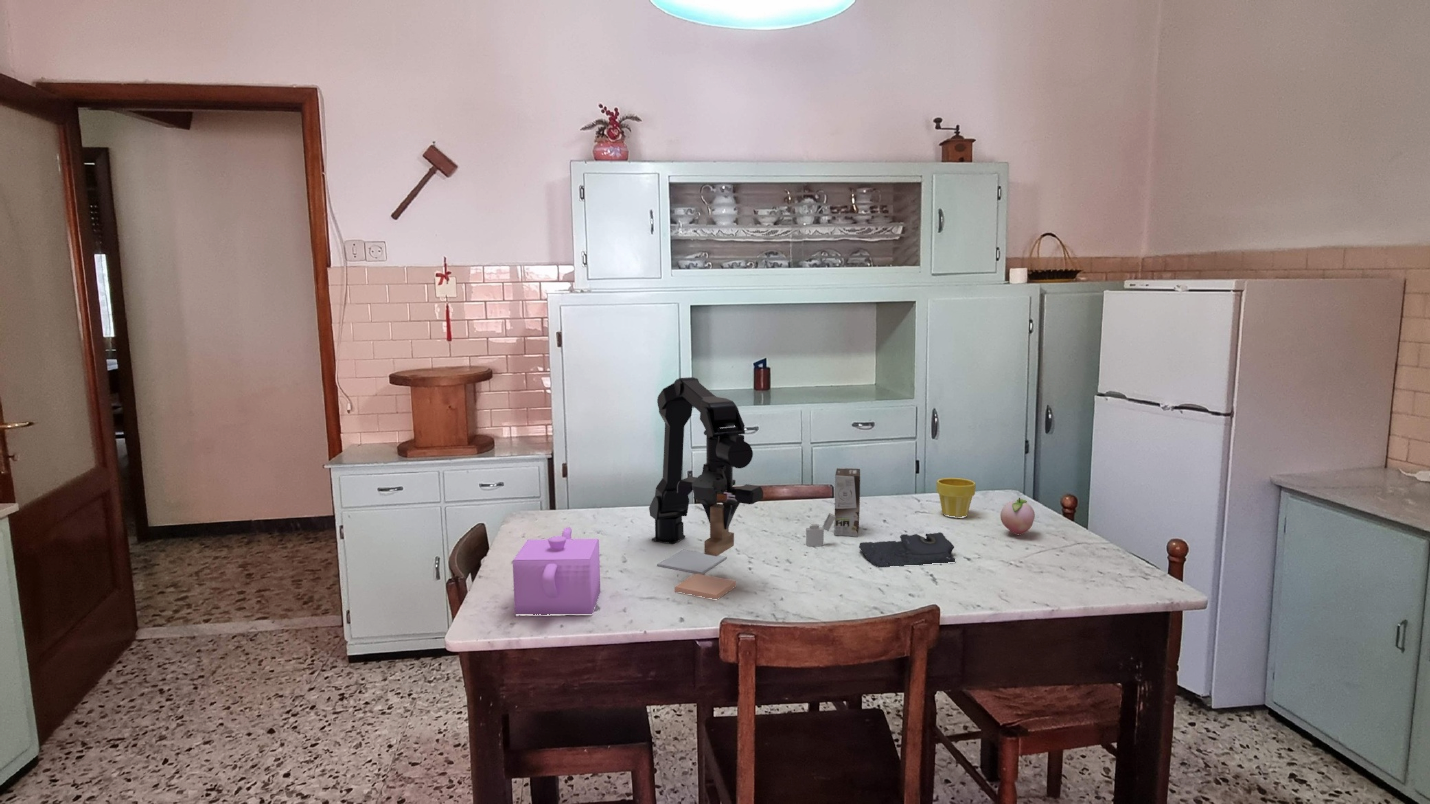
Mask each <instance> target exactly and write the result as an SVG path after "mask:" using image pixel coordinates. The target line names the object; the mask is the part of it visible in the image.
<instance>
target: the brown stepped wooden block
mask: <svg viewBox="0 0 1430 804" xmlns="http://www.w3.org/2000/svg"><path fill="white" fill-rule="evenodd" d="M729 528H730V526H729V527H728V529H724V505H723V504H722V503H717V504H715V505H713V506H711V507H710V523H709V538H707V539H704V541H703V542H704V544H703V547H704V552H703V553H704V554H706V555H712V556H718V555H721V554H723V553H724V552H727V550H729V549H731V548H733V547H734V546H735V532H732V531H731V532H730V531H729Z"/></svg>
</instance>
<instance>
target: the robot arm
mask: <svg viewBox="0 0 1430 804" xmlns="http://www.w3.org/2000/svg"><path fill="white" fill-rule="evenodd" d="M656 402H657V407H658V414H659V415H660V417H661V418H662V420H663V422H664V435H663V436H664V437H663V438H664V439H663V459H662V460H663V462H662V463H663V464H662V465H663V466H662V478H661V480H660V481H659V482H658V484H657V485H656V487H655V492H654V496H653V498H652V500H651V503H650V505H649V507H648V511H649V516H650V518H652V519H654V530H655V531H654V534H655V535H654V537H651V541H652V542H659V543H664V544H670V545H674V544H676V543H678V542H679V541H682V540H683V539H685V538H686V535H684V521H683V517H687V516H688V511H689V505H690V498H689V495H690V494H691V493H693V499H694V500H696V501H698V502H699V503H700V504H701V505H702V507H703V509H704V511H705V514H706V518H707V520H708V522H709V524H710V507H711V506H713V505H715V504H717V501H718V495H720V496H721V495H723V496H726V499H725V500H723V501H722V502H721V504H723V505H724V529H728V527H729V528H730V525H731V523H732V520H733V518H734V515H735V513H736V511H737V509H738V507H739V505H740V504H745V505H753V504H755V503H758V502H759V501H761V500H763V499H764V490H763V488H762V486H761V485H754V484H747V483H746V484H744V485H742V486H739V487H734V486H735V485H736V479H734V477H733V476H734V474H733V470H734V469H733V468H735V469H744V468H747V466H748V465H749V464H750V463H751V462H752V459H753V455H754V452H753V449H752V446H751V445H750V444H749V443H748V442H747V441H745V434H746V430H745V423H744V422H743V419H742V416H741V413H740V411H739V408H738V406H737V405H736V403H735V401H733V400H731V399H728V398H725V397H720V396H716V395H715V394H713V393H712V392H711V391H710V390H709V389H707V388H706V387H705V386H704V385H703V384H701V382H700V381H699V379H698V378H696V377H693V376H691V377H690V376H689V377H679V378H677V379H675V381H674V382H672V384H669V385H668V386H666V387H664V388H662V390H661V392H660V393H659V394H658V396H657V401H656ZM693 407H694V408H695V409H696V410H697V411H698V412H699V420H700V422H701V424H702V425H703V427H704V429H705V430H704V431H703V435H704V436H706V443H705V444H706V453H705V454H706V463H704V464H703V467H702V471H701V474H700V475H698V476H697V477H695V476H691V475H690V476H688V477H685V478H683V464H684V463H683V462H684V461H683V459H684V440H685V426H686V424H687V423H688V421H689V420H690V418H691V417H692V415H693V414H692V413H693Z"/></svg>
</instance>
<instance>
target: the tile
mask: <svg viewBox="0 0 1430 804" xmlns="http://www.w3.org/2000/svg"><path fill="white" fill-rule="evenodd" d="M735 586H736V587H737V580H733V579H728V578H721V577H717V576H713V575H706V574H697V573H693V575H690V576H689V577H688V578H686V579H685V580H683V581H681V582H680V583H679V584H677V585H675V586H674V593H676V592H682V593H685V594H692V595H695V596H702V597H705V598H712V599H718V598H719V597H721V596H722V597H723V595H724V594H725V595H726V594H727V593H726V592H728V591H729V590H730V591H733V589H734V588H733V587H735ZM736 587H735V588H736ZM730 591H729V592H730ZM729 592H728V593H729ZM685 594H684V595H685ZM725 595H724V596H725ZM695 596H694V597H695ZM722 597H721V598H722ZM705 598H704V599H705ZM719 599H720V598H719ZM719 599H718V600H719Z"/></svg>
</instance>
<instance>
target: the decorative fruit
mask: <svg viewBox="0 0 1430 804" xmlns="http://www.w3.org/2000/svg"><path fill="white" fill-rule="evenodd" d="M1035 516H1036V514H1035V510H1034V508H1033V507H1032V504H1031V505H1030V504H1029V503H1028V501H1027V500H1026V499H1023V498H1021V497H1018V499H1016V500H1013V501H1009V502H1007V503H1005V504H1004V505H1003V507H1002V508H1001V510H1000V521H1001V523H1002V525H1003V526H1004V527H1005V528H1006V529H1007V530H1008V531H1009V532H1011V533H1013V534H1014V535H1017V534H1019V535H1018V536H1020V534H1021V535H1023V534H1025V533H1027V532H1028V531H1029V530H1030V529H1031V528H1032V526H1033V524H1034V521H1035V518H1036V517H1035Z"/></svg>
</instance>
